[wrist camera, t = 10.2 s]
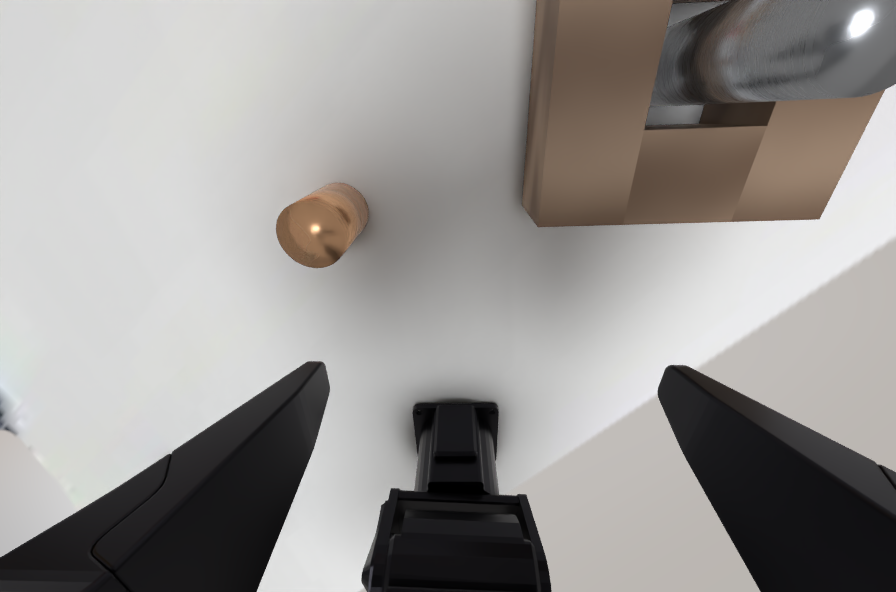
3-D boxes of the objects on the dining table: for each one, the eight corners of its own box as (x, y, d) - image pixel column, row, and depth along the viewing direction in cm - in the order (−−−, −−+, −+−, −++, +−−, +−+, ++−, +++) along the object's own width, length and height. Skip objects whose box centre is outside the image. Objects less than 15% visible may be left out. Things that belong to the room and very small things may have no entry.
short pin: (372, 235, 19) (350, 267, 15) (321, 237, 19) (286, 268, 15) (364, 181, 18) (338, 200, 14) (308, 183, 18) (267, 203, 14)
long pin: (686, 105, 16) (919, 95, 8) (622, 108, 16) (788, 100, 8) (707, 25, 14) (1018, -86, 6) (637, 29, 14) (857, -77, 7)
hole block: (747, 198, 18) (819, 219, 14) (521, 205, 18) (537, 226, 15) (878, -138, 12) (1053, -243, 9) (545, -117, 12) (580, -209, 9)
